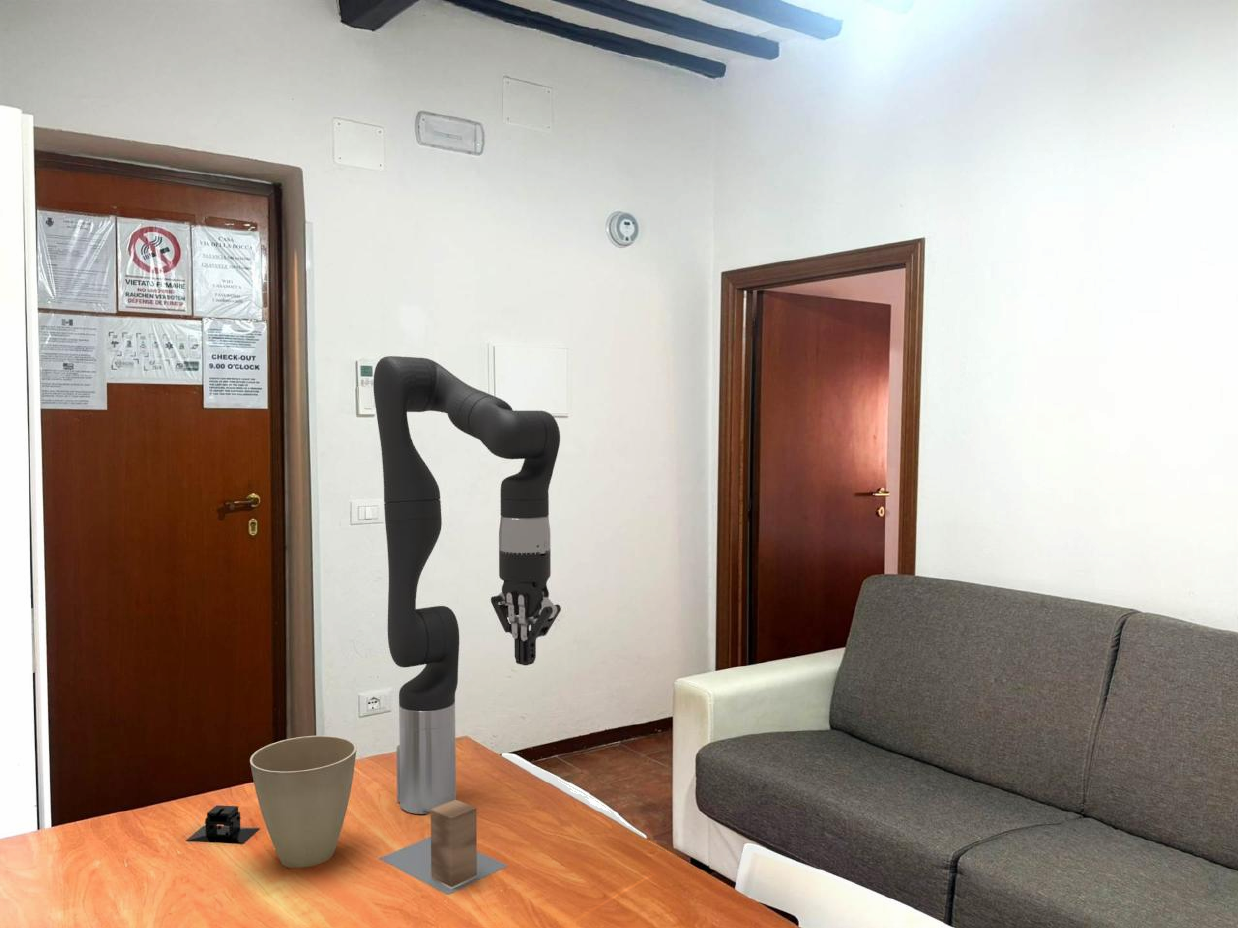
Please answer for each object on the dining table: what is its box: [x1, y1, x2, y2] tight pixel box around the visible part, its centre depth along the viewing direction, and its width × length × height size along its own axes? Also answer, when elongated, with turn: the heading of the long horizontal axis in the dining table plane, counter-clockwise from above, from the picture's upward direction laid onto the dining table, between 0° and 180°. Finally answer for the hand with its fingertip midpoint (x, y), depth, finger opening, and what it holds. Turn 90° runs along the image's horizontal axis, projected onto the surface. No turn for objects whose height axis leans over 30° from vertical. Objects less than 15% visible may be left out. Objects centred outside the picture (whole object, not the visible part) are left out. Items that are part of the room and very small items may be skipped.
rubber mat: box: [378, 836, 509, 896], centre depth 139 cm, size 16×11×1 cm
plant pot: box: [249, 735, 357, 869], centre depth 141 cm, size 15×15×16 cm
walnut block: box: [430, 799, 478, 889], centre depth 134 cm, size 4×4×10 cm
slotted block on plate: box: [185, 804, 261, 845], centre depth 149 cm, size 12×7×5 cm, turn 84°
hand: (525, 663), depth 140 cm, fingers closed
